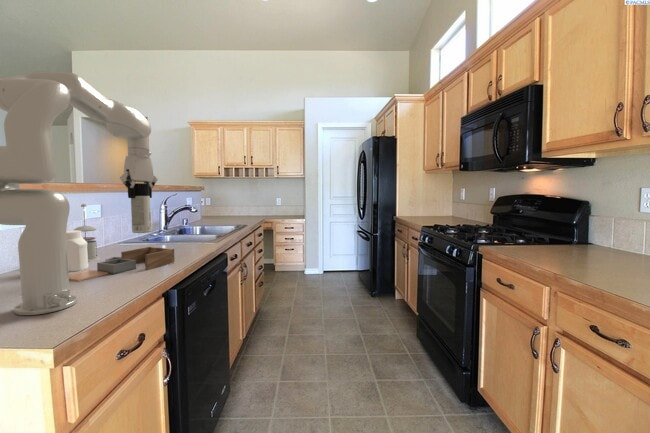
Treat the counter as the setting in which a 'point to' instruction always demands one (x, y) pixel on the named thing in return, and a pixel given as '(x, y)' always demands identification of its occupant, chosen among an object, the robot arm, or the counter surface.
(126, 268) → the bin
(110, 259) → the crook
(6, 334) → the counter surface
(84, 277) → the pad
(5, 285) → the counter surface
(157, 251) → the cubby
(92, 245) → the french press
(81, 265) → the jar
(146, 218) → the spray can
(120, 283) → the counter surface
